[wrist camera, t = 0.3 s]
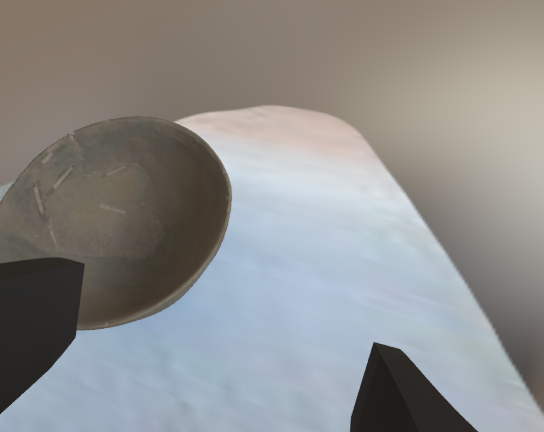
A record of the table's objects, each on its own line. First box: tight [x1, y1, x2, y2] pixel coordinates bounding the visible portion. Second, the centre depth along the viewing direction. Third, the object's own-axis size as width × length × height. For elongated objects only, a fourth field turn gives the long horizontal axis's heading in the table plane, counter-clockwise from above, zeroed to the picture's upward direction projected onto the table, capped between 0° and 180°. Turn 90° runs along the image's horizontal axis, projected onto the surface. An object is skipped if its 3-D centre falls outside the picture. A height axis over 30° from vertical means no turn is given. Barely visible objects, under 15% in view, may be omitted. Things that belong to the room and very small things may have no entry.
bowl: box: [0, 116, 232, 330], centre depth 41 cm, size 19×19×10 cm
